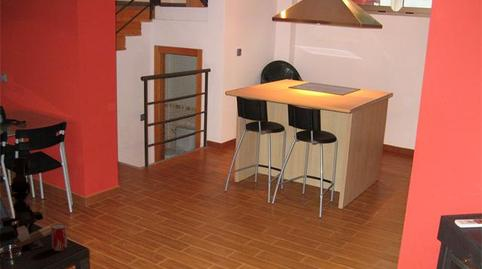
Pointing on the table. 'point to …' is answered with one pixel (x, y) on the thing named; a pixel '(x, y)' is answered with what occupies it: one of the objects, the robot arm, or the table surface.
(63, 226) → the soda can
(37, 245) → the fulcrum
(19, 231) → the rider
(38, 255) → the table surface
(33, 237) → the beam
